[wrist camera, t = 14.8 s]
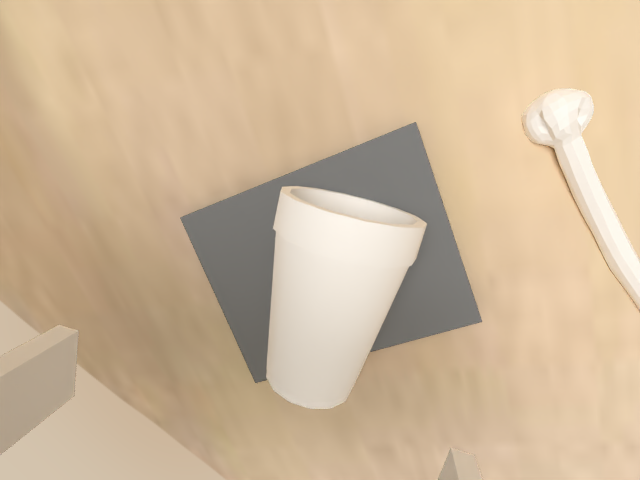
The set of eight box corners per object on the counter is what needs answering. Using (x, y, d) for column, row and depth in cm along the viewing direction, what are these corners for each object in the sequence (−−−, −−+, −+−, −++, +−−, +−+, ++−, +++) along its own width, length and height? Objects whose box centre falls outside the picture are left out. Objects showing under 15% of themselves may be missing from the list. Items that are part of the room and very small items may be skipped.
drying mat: (258, 376, 34) (255, 382, 33) (186, 215, 31) (180, 217, 30) (478, 316, 29) (482, 321, 28) (414, 123, 27) (415, 122, 26)
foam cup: (316, 332, 33) (351, 192, 30) (397, 397, 27) (454, 228, 23) (219, 357, 26) (251, 180, 23) (296, 450, 20) (355, 226, 17)
